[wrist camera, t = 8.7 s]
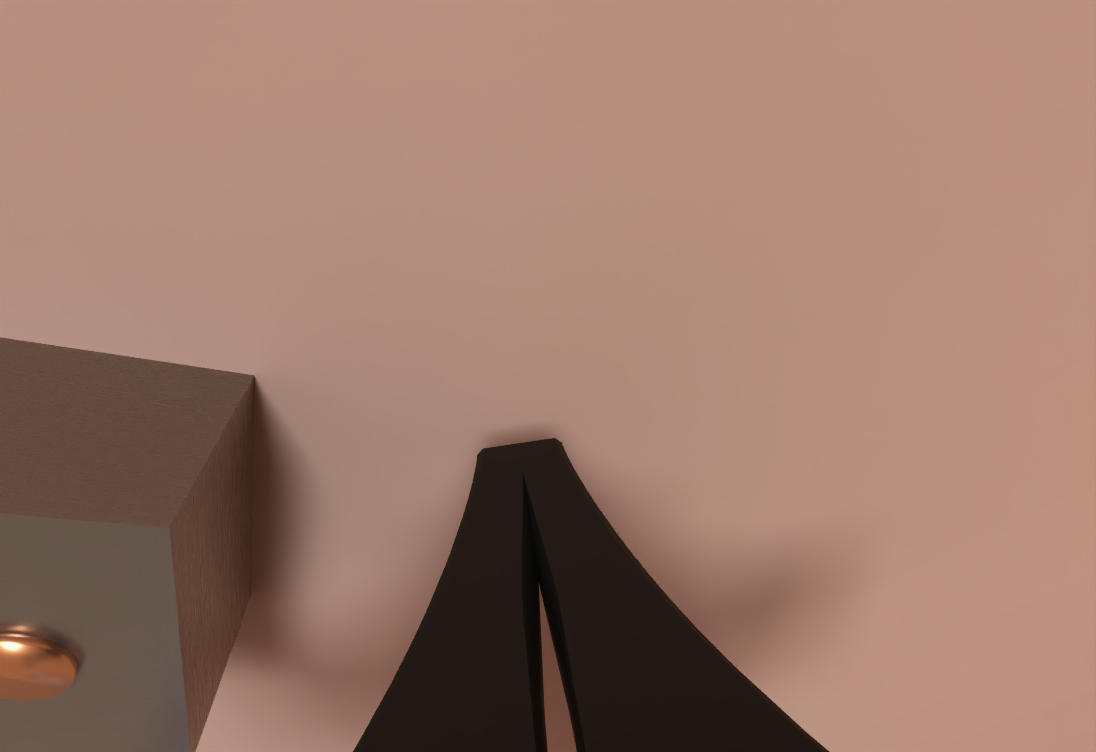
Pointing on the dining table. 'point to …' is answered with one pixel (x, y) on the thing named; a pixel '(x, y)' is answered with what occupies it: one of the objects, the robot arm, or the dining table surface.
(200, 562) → the link block
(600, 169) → the dining table surface
